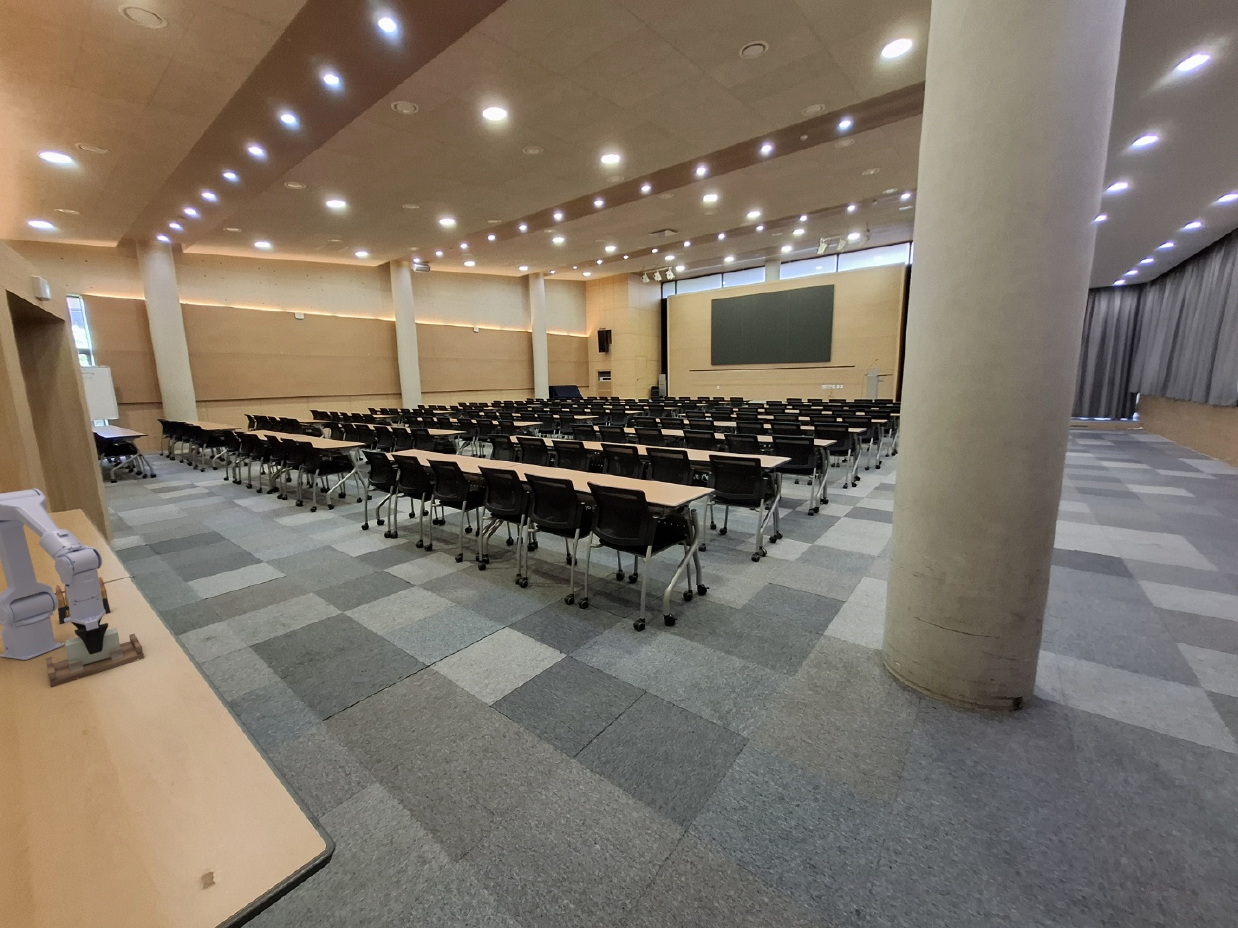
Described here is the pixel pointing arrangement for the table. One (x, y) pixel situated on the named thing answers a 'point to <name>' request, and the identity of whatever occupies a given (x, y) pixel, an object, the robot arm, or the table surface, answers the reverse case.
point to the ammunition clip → (64, 608)
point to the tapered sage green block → (79, 651)
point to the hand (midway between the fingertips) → (93, 647)
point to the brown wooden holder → (93, 663)
